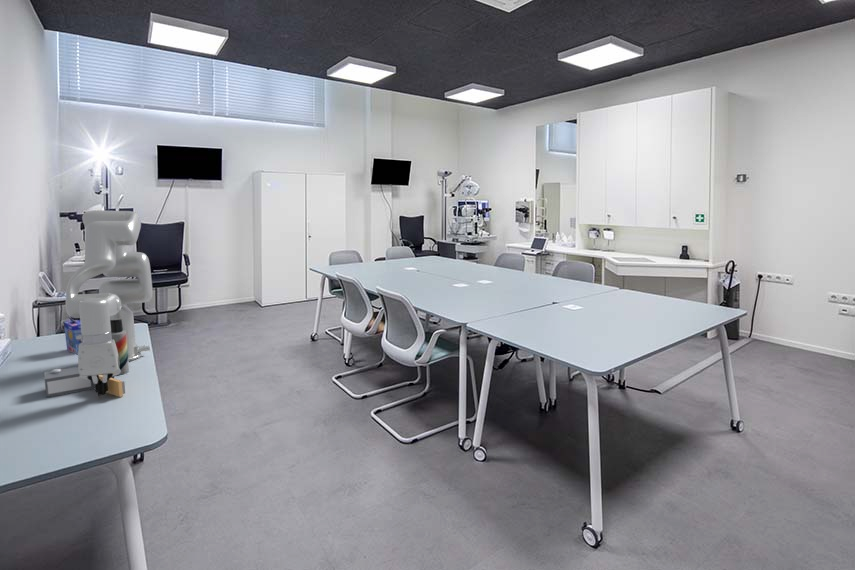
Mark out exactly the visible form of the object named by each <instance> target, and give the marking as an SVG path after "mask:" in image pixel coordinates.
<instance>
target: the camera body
mask: <svg viewBox="0 0 855 570" xmlns="http://www.w3.org/2000/svg"><path fill="white" fill-rule="evenodd" d="M43 373H44V386H45V393H46V398H50V397H56V396H62V395H63V396H64V395H67V394H73V393H77V392H83V391H88V390H93V389H94V388H95V387H94V383H93V382H92V381H91V380H89V379H83V378H80V377H79V376H80V375H79V371H78V366H76V367H75V366H74V367H69V368H68V367H67V368H55V369H51V370H48V371H44V372H43ZM111 378H114V379H115V376H112V377H111ZM94 390H95V389H94Z"/></svg>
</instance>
